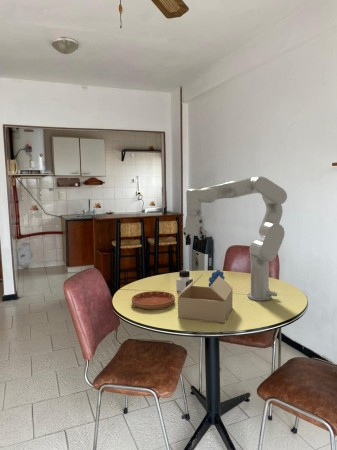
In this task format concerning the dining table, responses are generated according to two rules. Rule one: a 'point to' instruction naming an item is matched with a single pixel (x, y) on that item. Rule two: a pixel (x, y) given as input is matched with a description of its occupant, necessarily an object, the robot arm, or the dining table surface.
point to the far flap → (189, 285)
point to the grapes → (215, 276)
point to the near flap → (221, 288)
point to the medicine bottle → (183, 280)
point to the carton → (204, 305)
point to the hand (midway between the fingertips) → (194, 246)
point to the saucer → (153, 300)
